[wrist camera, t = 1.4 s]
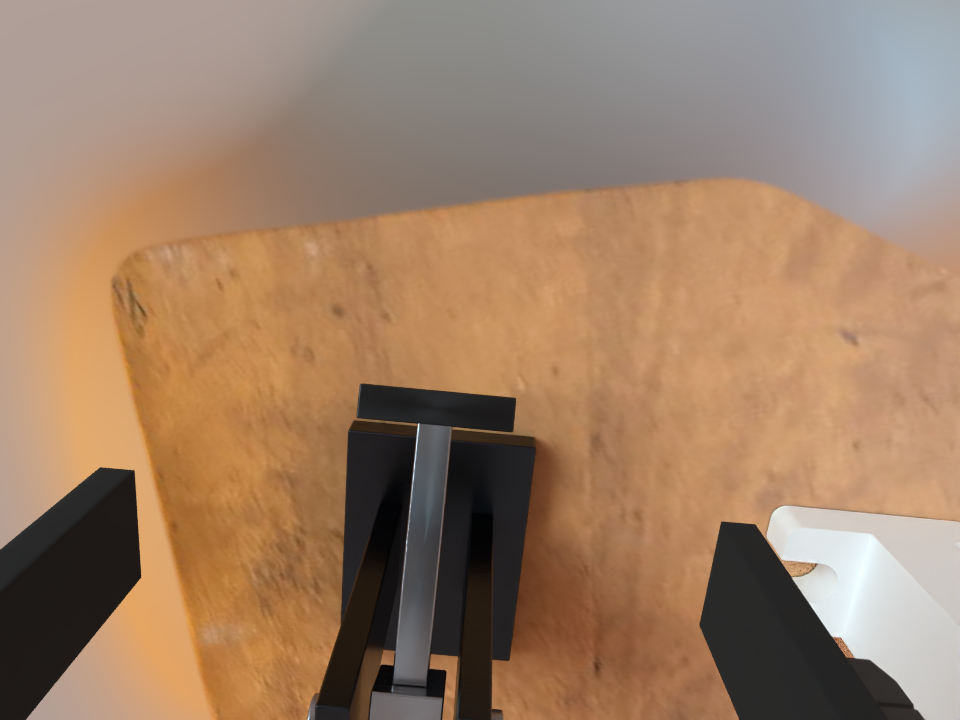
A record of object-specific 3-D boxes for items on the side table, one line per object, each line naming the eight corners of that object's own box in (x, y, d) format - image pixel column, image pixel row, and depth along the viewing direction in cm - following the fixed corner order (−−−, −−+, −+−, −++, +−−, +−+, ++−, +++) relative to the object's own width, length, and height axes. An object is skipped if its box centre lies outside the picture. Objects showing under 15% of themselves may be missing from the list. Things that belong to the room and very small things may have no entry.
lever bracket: (353, 419, 31) (260, 601, 19) (534, 436, 31) (559, 628, 19) (344, 629, 34) (261, 900, 22) (509, 644, 34) (516, 922, 22)
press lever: (367, 385, 24) (356, 382, 22) (513, 399, 24) (517, 397, 22) (329, 747, 23) (313, 785, 21) (480, 761, 23) (482, 800, 21)
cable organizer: (958, 623, 33) (1142, 816, 24) (749, 603, 33) (850, 790, 24) (992, 524, 32) (1204, 690, 22) (773, 504, 32) (892, 661, 22)
